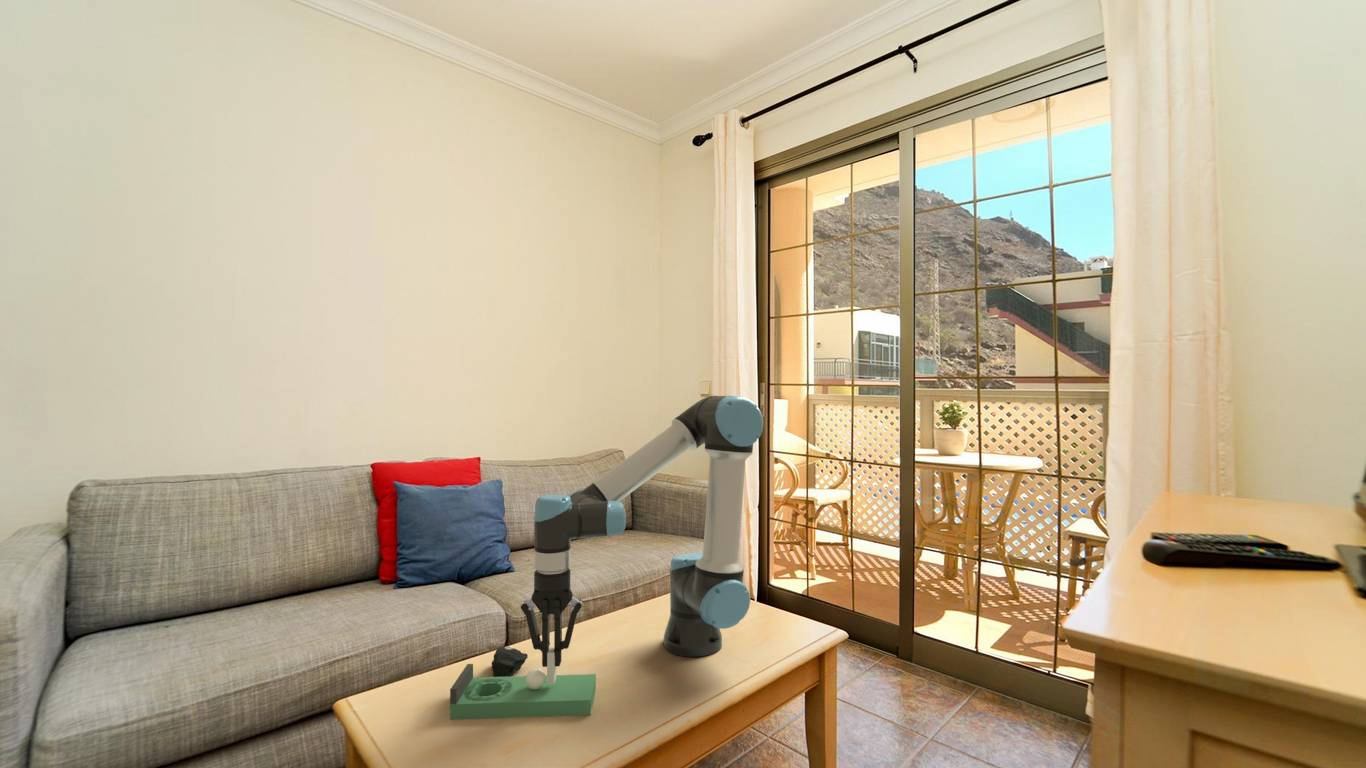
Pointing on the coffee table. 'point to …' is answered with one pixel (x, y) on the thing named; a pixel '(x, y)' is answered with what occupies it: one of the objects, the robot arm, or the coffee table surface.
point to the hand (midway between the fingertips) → (551, 681)
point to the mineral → (507, 661)
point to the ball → (535, 679)
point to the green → (520, 696)
